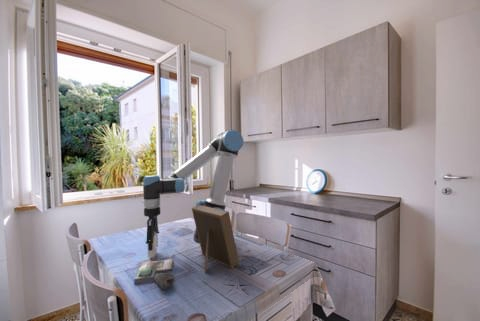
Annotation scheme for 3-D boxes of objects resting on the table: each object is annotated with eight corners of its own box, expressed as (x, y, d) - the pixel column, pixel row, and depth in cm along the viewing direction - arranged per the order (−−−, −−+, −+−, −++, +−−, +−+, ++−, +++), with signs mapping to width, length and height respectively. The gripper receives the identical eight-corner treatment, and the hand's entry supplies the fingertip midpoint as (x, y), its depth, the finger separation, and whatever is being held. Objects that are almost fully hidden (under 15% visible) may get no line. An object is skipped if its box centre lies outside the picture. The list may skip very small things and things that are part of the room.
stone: (153, 283, 88) (144, 278, 82) (161, 269, 91) (153, 263, 85) (173, 294, 85) (166, 290, 79) (181, 280, 88) (175, 274, 82)
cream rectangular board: (173, 260, 106) (173, 258, 106) (171, 270, 96) (171, 268, 96) (141, 263, 103) (141, 262, 103) (136, 274, 93) (136, 272, 93)
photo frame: (209, 251, 115) (208, 203, 115) (239, 265, 99) (238, 209, 99) (183, 261, 104) (182, 208, 104) (212, 278, 89) (211, 215, 89)
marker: (156, 255, 112) (156, 231, 112) (155, 257, 109) (155, 233, 109) (150, 255, 111) (150, 231, 111) (149, 258, 108) (149, 233, 108)
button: (152, 272, 92) (151, 266, 92) (150, 277, 88) (150, 271, 88) (141, 273, 92) (141, 267, 92) (139, 279, 88) (139, 272, 88)
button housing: (156, 272, 94) (156, 268, 94) (153, 281, 87) (153, 276, 87) (138, 275, 93) (138, 270, 93) (134, 284, 86) (134, 279, 86)
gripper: (148, 202, 121) (149, 243, 121) (138, 213, 98) (139, 263, 98) (163, 202, 122) (164, 242, 122) (156, 211, 99) (157, 261, 99)
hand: (153, 251), depth 110 cm, fingers open, 11 cm apart
